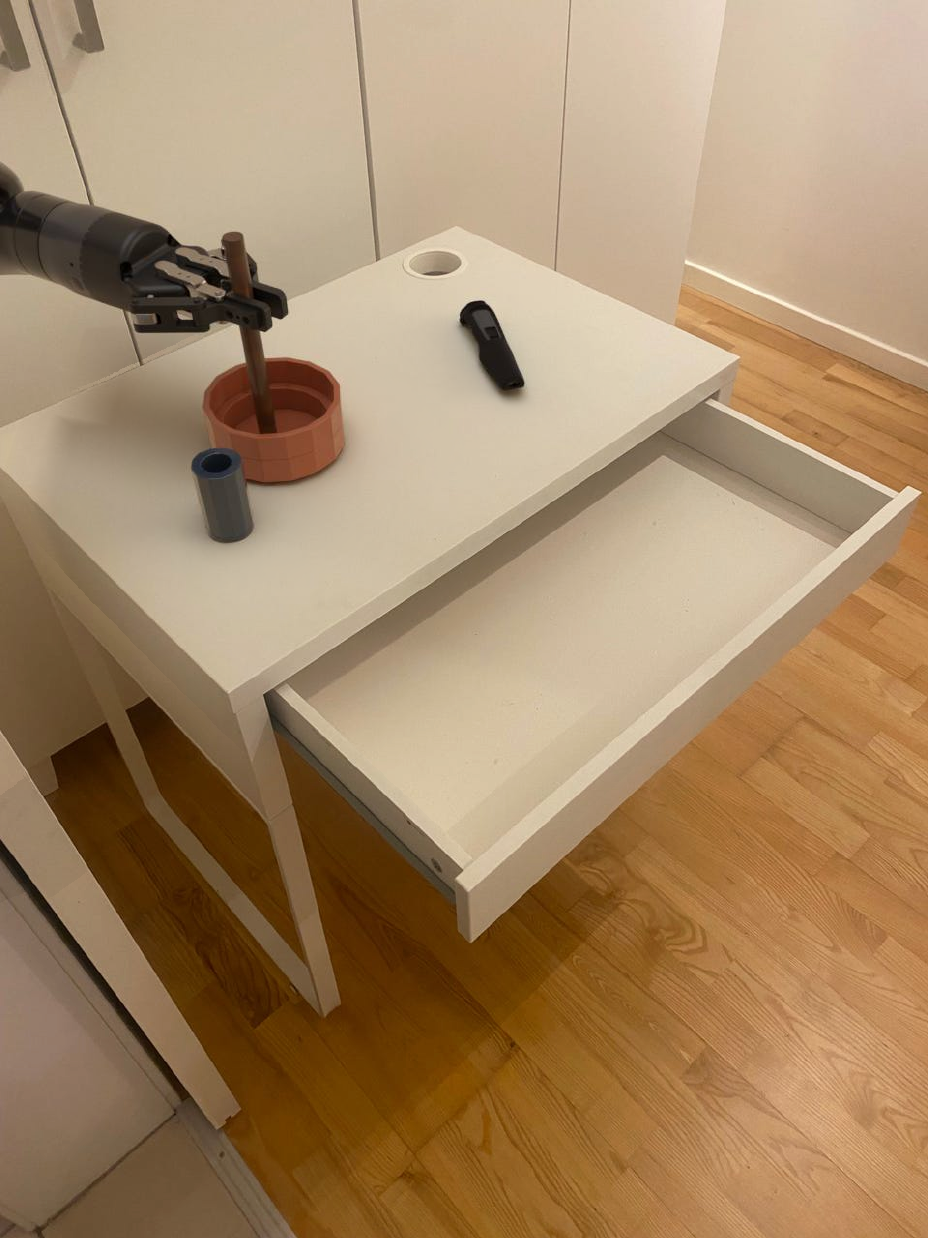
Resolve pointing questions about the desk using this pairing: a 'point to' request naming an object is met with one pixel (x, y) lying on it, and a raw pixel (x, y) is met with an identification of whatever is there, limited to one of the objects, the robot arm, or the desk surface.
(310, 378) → the bowl
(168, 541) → the desk surface
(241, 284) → the stick
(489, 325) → the electric trimmer
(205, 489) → the tube
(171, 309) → the robot arm
